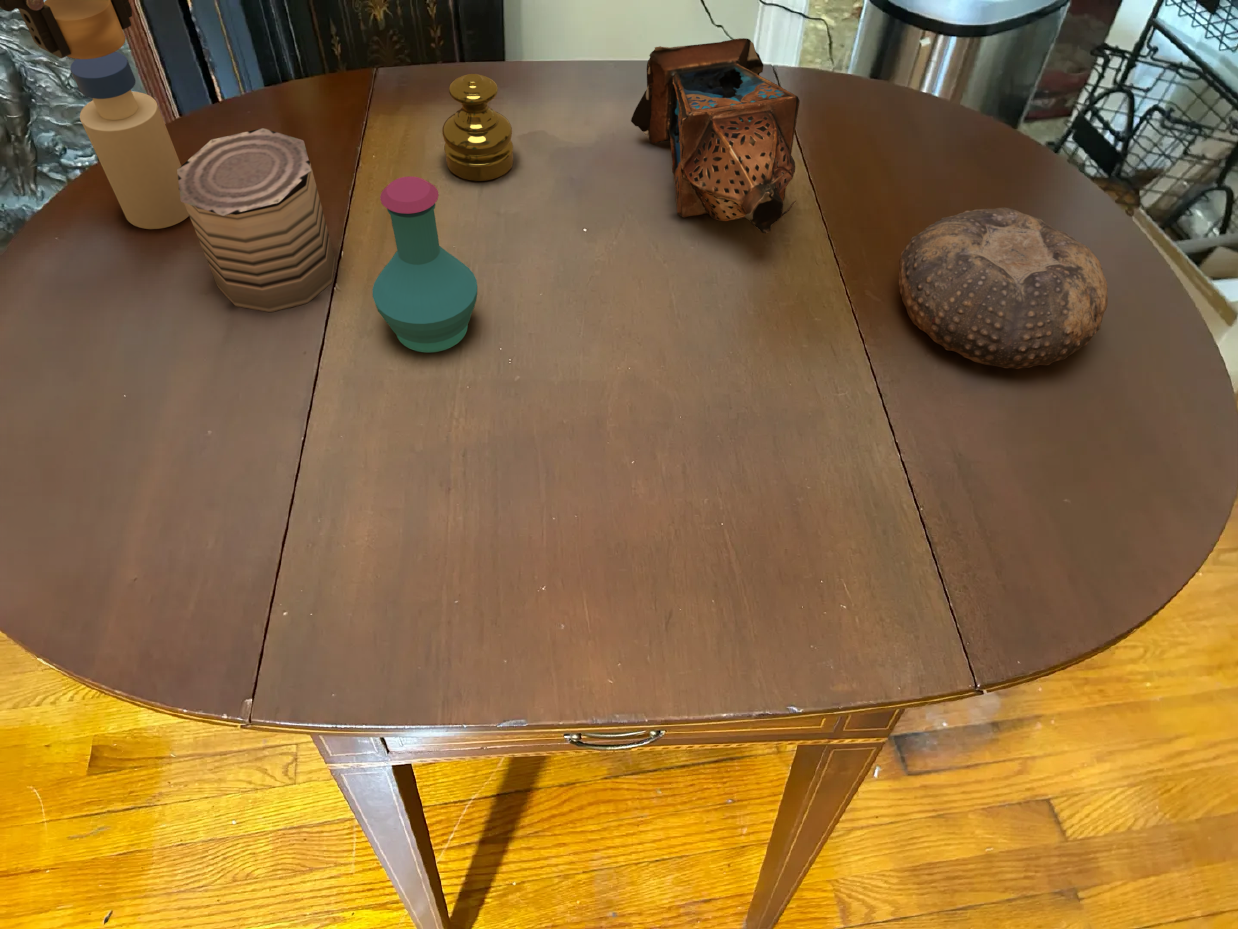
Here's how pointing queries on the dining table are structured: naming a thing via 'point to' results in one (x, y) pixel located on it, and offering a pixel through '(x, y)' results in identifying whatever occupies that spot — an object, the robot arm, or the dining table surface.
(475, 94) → the brass weight
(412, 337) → the perfume bottle
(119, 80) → the cream bottle
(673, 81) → the lantern
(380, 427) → the dining table surface
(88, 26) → the tan short cylinder
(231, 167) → the can
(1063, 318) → the sea urchin shell
